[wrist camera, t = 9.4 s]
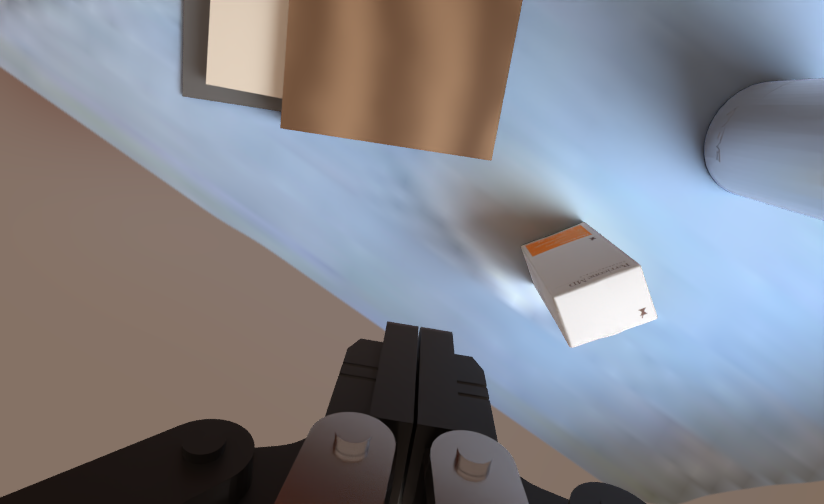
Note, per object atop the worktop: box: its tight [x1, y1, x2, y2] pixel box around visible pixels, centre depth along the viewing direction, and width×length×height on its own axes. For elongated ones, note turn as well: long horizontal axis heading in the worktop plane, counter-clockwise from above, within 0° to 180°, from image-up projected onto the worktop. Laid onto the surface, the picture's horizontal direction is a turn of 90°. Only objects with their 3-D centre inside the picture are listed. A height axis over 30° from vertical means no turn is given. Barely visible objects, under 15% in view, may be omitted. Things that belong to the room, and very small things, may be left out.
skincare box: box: [521, 222, 657, 348], centre depth 37 cm, size 6×4×12 cm
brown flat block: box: [280, 0, 523, 160], centre depth 37 cm, size 16×12×4 cm
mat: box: [183, 0, 282, 111], centre depth 38 cm, size 8×10×1 cm
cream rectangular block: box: [206, 0, 289, 98], centre depth 37 cm, size 6×9×2 cm, turn 170°
